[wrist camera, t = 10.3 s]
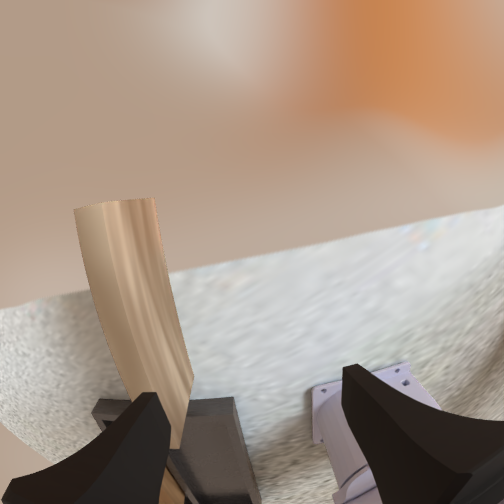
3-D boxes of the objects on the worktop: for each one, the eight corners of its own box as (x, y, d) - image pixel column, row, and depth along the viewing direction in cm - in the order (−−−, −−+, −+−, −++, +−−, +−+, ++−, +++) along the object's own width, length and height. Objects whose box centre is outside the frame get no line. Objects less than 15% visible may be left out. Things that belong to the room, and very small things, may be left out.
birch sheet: (154, 197, 18) (101, 202, 10) (194, 375, 21) (179, 448, 13) (134, 201, 18) (73, 209, 10) (176, 376, 21) (155, 448, 13)
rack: (233, 396, 22) (233, 414, 19) (261, 498, 26) (262, 511, 23) (99, 398, 21) (91, 412, 19) (165, 499, 25) (162, 510, 23)
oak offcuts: (155, 437, 22) (143, 479, 16) (187, 490, 24) (182, 524, 19) (125, 435, 22) (110, 474, 16) (161, 488, 24) (155, 521, 19)
